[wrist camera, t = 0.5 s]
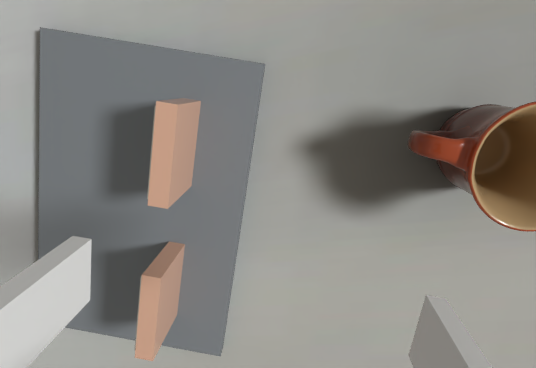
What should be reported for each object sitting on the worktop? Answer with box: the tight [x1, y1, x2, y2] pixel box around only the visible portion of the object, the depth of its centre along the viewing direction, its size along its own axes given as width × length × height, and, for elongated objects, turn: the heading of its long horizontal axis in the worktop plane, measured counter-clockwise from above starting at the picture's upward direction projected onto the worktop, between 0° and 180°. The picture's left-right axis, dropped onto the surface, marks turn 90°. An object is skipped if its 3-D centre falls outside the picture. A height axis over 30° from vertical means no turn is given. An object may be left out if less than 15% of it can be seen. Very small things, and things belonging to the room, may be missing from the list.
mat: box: [38, 27, 265, 356], centre depth 38 cm, size 30×20×1 cm, turn 171°
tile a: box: [147, 98, 201, 209], centre depth 32 cm, size 8×2×7 cm, turn 171°
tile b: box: [135, 242, 185, 361], centre depth 36 cm, size 8×2×7 cm, turn 171°
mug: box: [408, 102, 536, 231], centre depth 30 cm, size 12×9×10 cm
